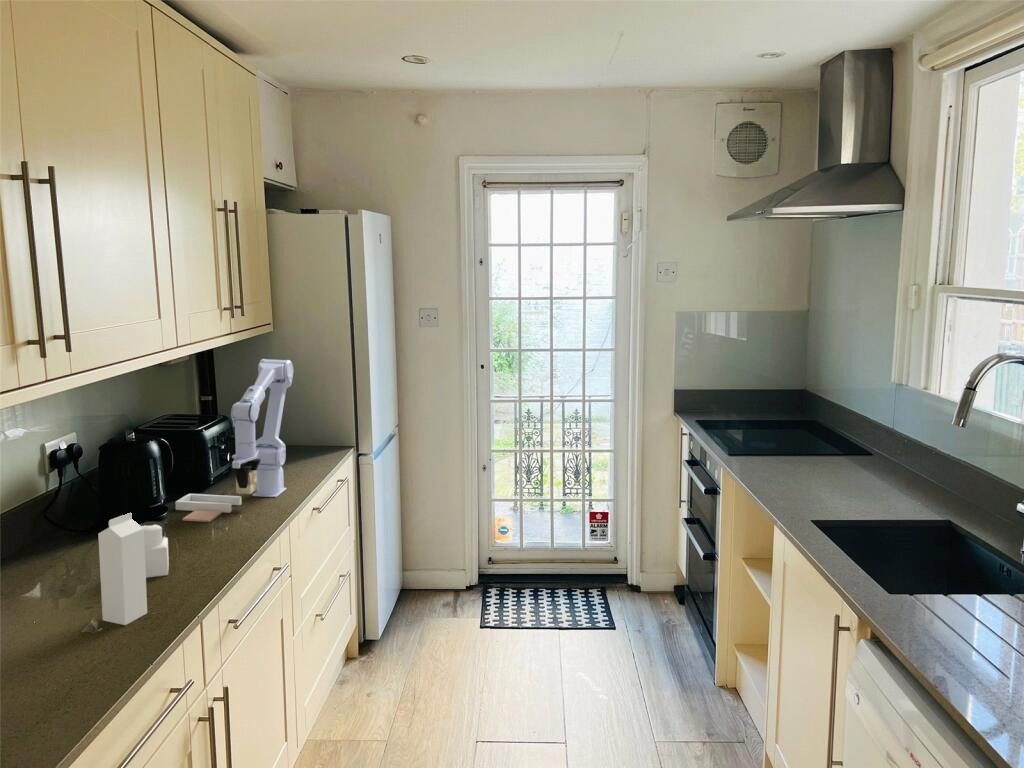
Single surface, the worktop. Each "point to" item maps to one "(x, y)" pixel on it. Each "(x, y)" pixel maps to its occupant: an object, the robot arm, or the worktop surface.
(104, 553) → the milk
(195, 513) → the coaster
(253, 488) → the beech block
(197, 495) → the channel
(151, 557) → the medicine bottle
